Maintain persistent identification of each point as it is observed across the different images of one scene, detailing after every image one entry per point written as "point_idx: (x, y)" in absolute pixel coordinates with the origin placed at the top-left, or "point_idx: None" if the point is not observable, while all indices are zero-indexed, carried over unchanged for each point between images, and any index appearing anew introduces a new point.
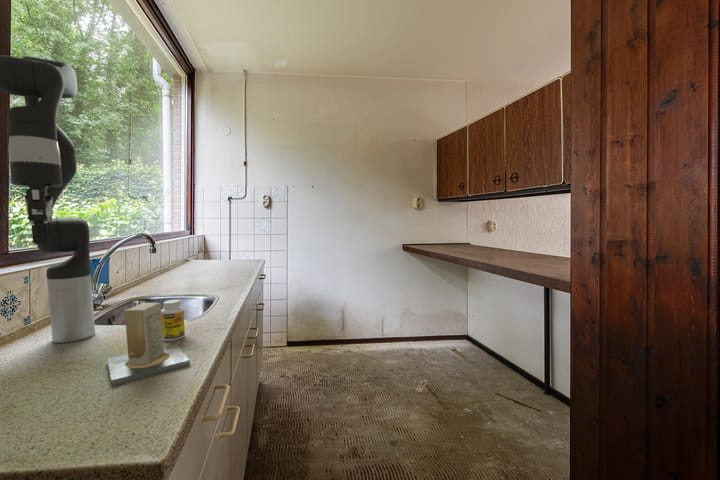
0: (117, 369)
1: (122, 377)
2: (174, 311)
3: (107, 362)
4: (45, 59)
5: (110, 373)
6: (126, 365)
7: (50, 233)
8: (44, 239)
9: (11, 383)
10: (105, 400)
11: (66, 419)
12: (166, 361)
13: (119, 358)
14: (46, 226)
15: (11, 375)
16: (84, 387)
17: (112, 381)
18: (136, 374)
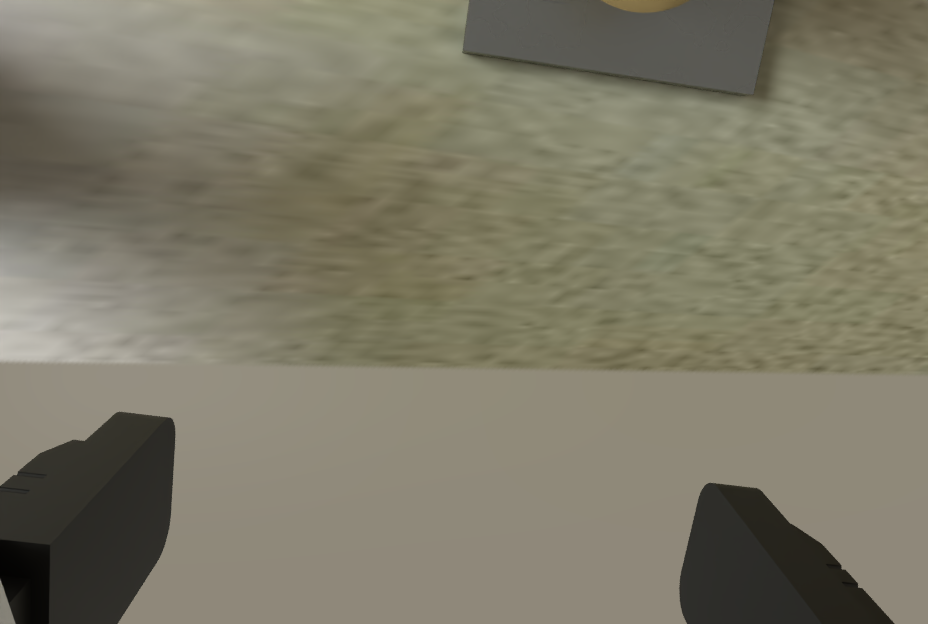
0: (652, 49)
1: (761, 56)
2: None
3: (475, 53)
4: None
5: (673, 81)
6: (641, 9)
7: (129, 462)
8: (807, 540)
9: (392, 354)
10: (844, 138)
11: (873, 249)
12: None
13: (517, 8)
14: (865, 621)
15: (294, 352)
16: (662, 171)
17: (750, 91)
18: (771, 4)
